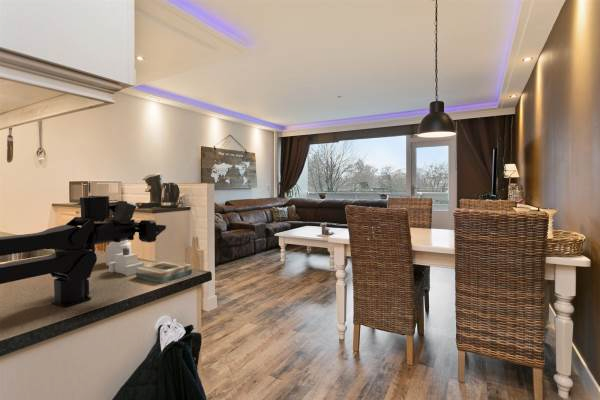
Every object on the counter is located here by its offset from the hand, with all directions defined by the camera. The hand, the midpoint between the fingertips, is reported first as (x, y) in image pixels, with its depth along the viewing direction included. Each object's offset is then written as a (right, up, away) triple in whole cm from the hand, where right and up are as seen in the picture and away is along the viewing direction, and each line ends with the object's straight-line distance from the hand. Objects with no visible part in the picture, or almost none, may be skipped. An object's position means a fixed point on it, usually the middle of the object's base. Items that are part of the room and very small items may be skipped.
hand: (155, 225), depth 104 cm
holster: (-13, -16, +6) cm, 21 cm away
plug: (-13, -16, +6) cm, 21 cm away
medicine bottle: (-21, -15, +17) cm, 31 cm away
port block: (+2, -16, +2) cm, 17 cm away
